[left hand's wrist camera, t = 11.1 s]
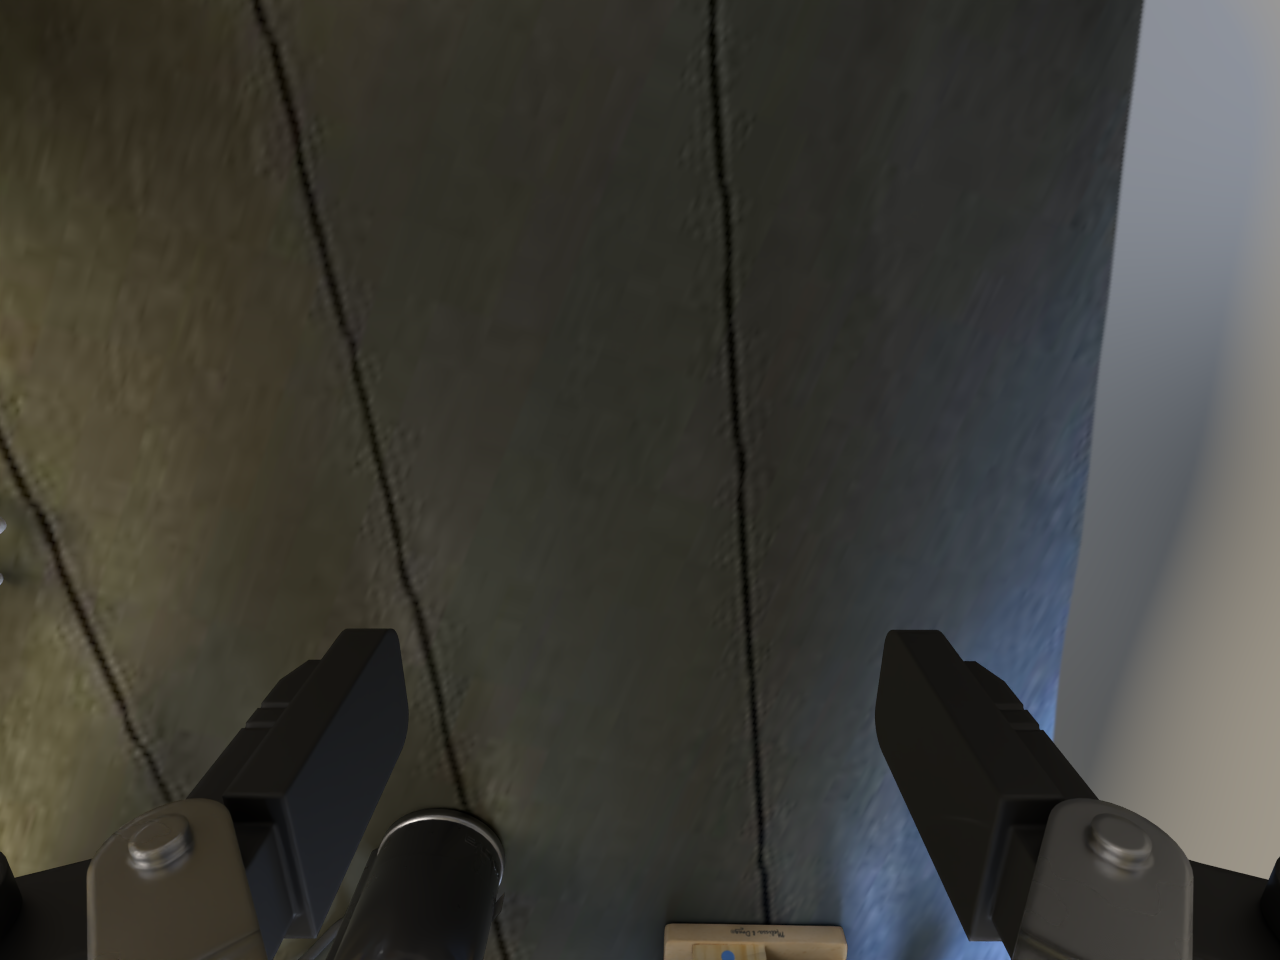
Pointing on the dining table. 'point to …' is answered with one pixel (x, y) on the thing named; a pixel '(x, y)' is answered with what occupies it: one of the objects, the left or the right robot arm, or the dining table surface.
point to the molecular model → (0, 527)
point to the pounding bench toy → (753, 942)
